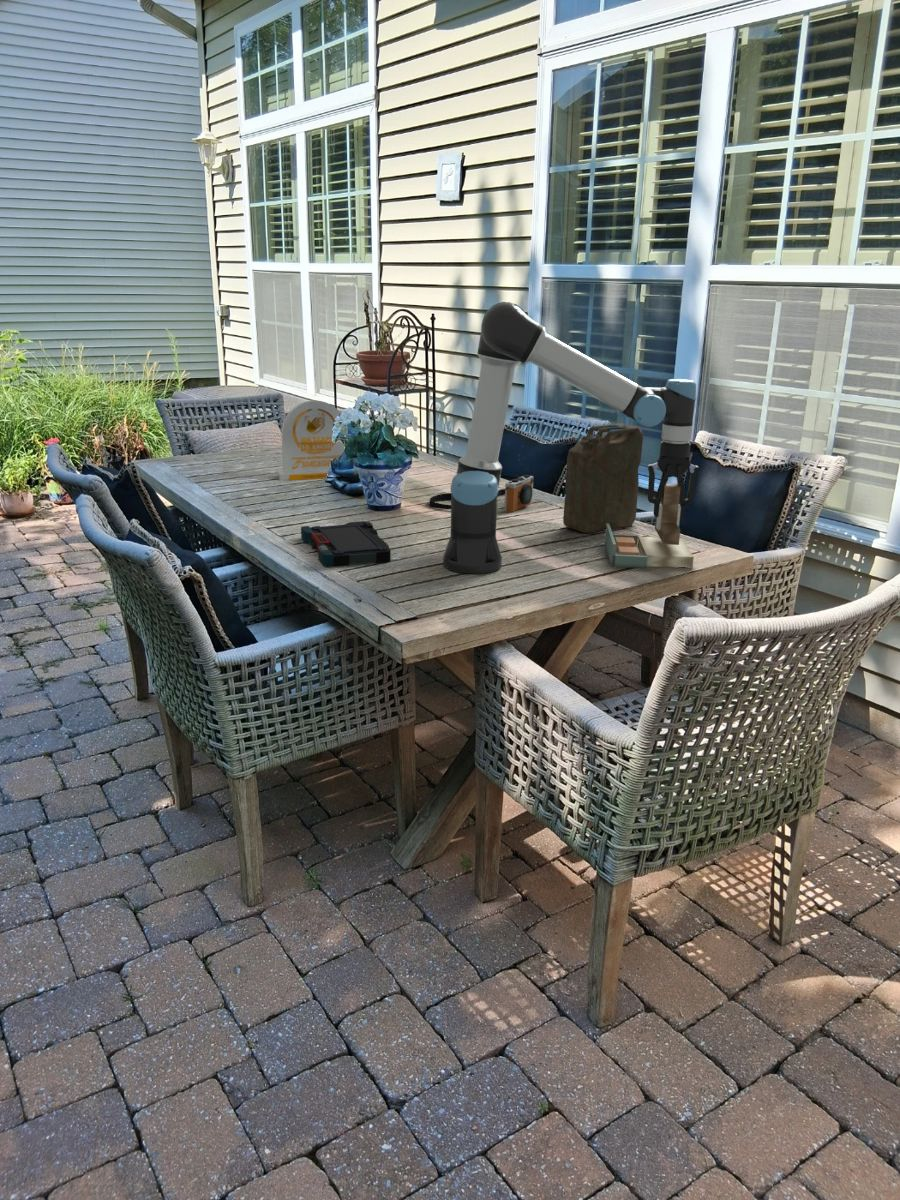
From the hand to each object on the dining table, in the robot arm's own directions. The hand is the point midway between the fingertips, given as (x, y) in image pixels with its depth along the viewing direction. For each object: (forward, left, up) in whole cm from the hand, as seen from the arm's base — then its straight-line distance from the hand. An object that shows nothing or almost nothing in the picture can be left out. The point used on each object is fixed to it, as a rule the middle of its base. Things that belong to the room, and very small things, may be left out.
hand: (667, 528), depth 237 cm
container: (-15, +29, -8) cm, 34 cm away
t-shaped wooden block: (0, 0, -2) cm, 2 cm away
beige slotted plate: (0, 0, -8) cm, 8 cm away
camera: (-51, +54, -9) cm, 75 cm away
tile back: (-10, +5, -7) cm, 13 cm away
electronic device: (-86, -4, -9) cm, 87 cm away
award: (-115, +87, -8) cm, 144 cm away
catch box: (-11, 0, -8) cm, 13 cm away
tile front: (-10, -5, -7) cm, 13 cm away
